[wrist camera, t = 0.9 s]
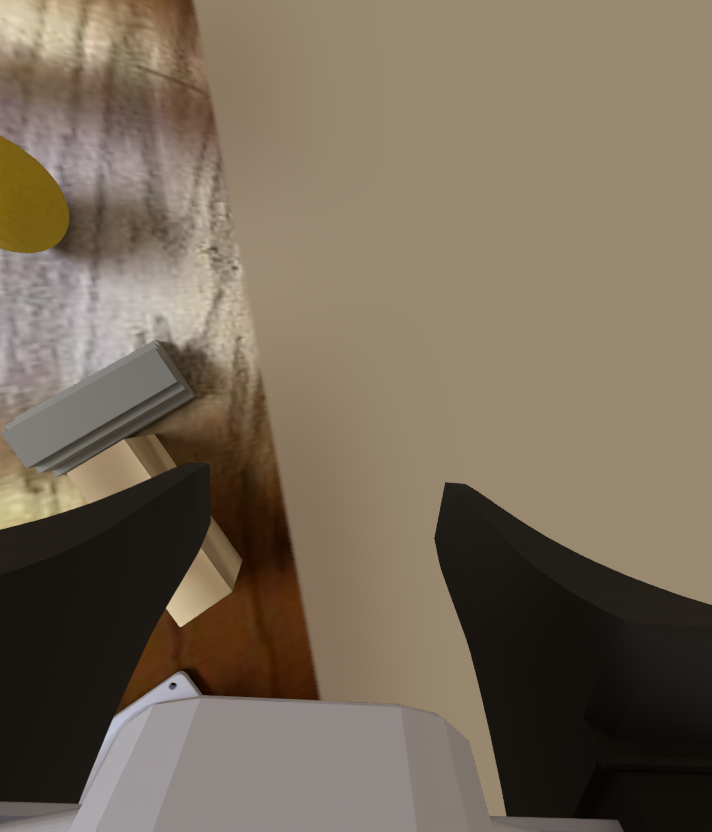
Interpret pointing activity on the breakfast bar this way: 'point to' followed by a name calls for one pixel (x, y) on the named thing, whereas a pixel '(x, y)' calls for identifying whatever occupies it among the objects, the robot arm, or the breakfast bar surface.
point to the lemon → (29, 203)
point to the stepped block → (98, 411)
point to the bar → (142, 462)
